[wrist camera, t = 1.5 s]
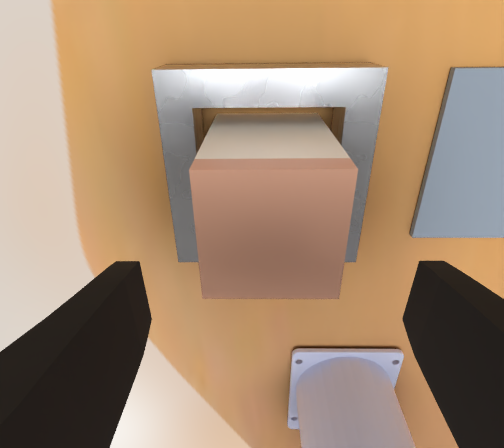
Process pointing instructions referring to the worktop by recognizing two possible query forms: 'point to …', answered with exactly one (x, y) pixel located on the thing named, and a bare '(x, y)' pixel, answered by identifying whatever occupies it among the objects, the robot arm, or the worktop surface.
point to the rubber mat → (465, 160)
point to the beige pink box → (271, 207)
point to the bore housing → (264, 95)
